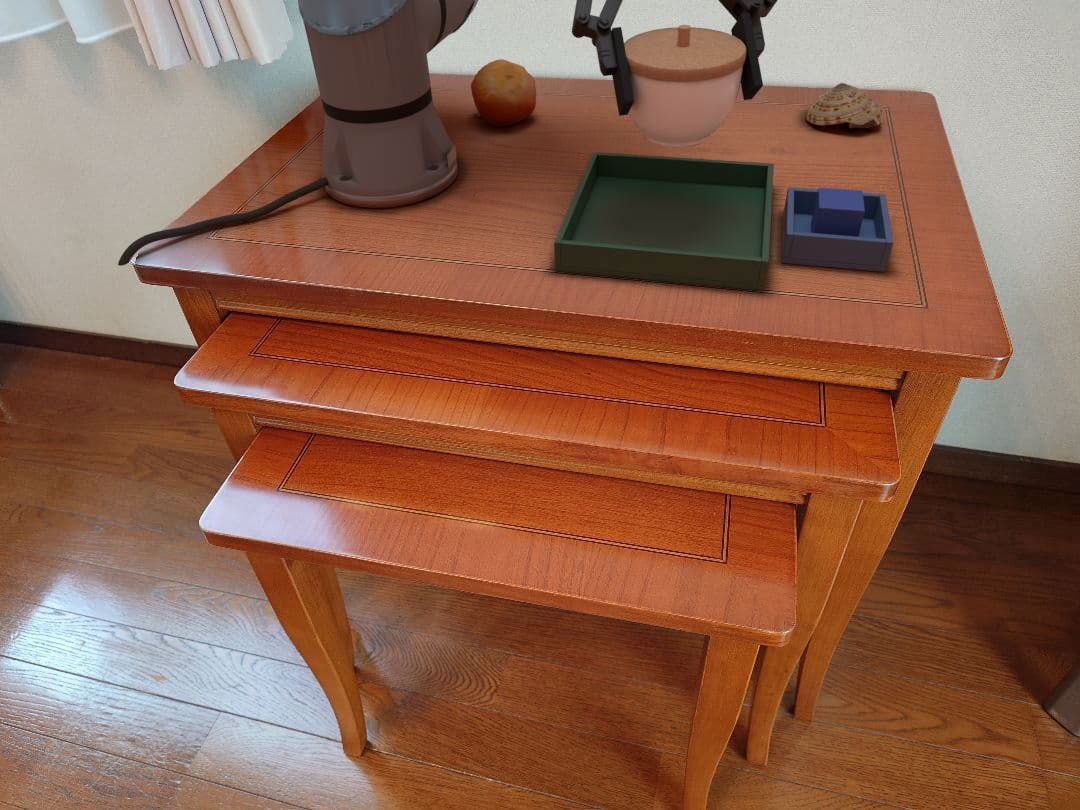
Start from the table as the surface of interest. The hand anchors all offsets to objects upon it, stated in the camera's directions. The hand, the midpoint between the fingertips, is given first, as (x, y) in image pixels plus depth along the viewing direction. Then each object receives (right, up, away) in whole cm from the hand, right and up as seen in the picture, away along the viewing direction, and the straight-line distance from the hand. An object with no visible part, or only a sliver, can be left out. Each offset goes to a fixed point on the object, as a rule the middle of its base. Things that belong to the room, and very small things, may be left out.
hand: (690, 101), depth 69 cm
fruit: (-17, +10, +33) cm, 38 cm away
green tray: (0, -9, +11) cm, 14 cm away
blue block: (+15, -10, +8) cm, 20 cm away
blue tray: (+15, -11, +8) cm, 20 cm away
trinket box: (0, -1, +5) cm, 5 cm away
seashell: (+24, +8, +28) cm, 38 cm away
